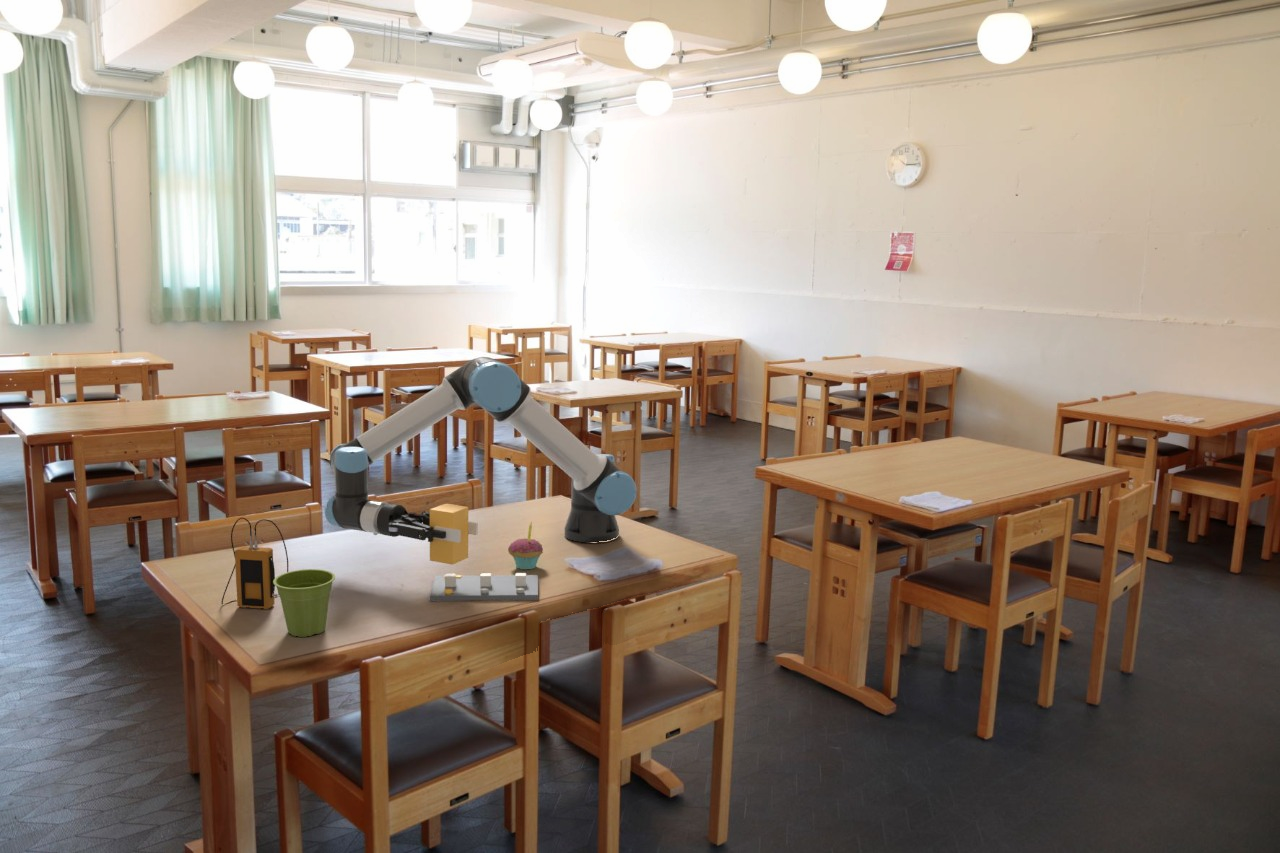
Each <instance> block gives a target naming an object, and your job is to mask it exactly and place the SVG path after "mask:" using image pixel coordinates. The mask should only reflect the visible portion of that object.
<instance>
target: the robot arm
mask: <svg viewBox="0 0 1280 853" xmlns="http://www.w3.org/2000/svg"><path fill="white" fill-rule="evenodd" d="M531 392H532V391H531V387H530V386H529V385H527V383H526V382H524V380H522V379H521V377H519V375H518V374H517V372H516V371H515V369H514V368H512V367H511V366H510V365H508V364H507V363H504V362H502V361H499V360H496V359H494V358H491V357H488V356H487V357H486V356H480V357H475V358H473V359H471V360H468V361H467V362H466V363H464V364H463V365H461V366H460V367H458V368H457V369H455V370H453V372H450V373H449V374H448V375H446V376H445V377H443V378H442V382H441V384H439V385H438V386H436V387H435V388H433V389H432V390H430V391H428V392H426V393H424V395H422V396H420V397H419V398H418V399H416V400H414V401H412V402H410V403H409V404H408V405H406V406H404V407H403V408H401V409H400V410H398V411H396V412H395V413H394V414H392V415H391V416H388V417H387V418H386V419H384V420H382V421H381V422H379V423H378V424H376V425H375V426H373V427H371V428H370V429H368V430H367V431H365V432H363V433H361V434H360V435H359V436H357V437H356V438H353V439H352V440H350V441H349V442H347V443H341V444H338V445H336V446H334V448H333V449H332V450H331V452H330V456H329V464H330V468H331V470H332V471H333V475H334V480H335V481H334V486H335V495H333V496H331V497H330V498H329V499H328V500H327V502H326V507H325V509H324V516H325V519H326V520H327V522H328V524H330V525H332V526H334V527H338V528H342V529H345V530H354V531H359V532H365V533H372V534H373V535H374V536H377V535H383V536H388V537H394V538H396V537H399V536H400V537H405V538H409V539H413V540H414V539H415V540H420V541H426V539H427V542H428V543H430V542H433V537H434V539H440V540H446V541H452V542H458V543H459V542H460V534H461V530H457V529H451V528H445V527H439V526H435V527H434V529H433V527H431V526H430V511H425V510H423V511H421V513H416V512H408V511H407V510H406V508H405V506H403V505H401V504H396V503H390V502H389V503H388V502H385V501H380V500H379V501H377V500H372V499H371V500H370V499H369V487H368V486H369V466H370V465H372V464H373V463H375V462H376V461H378V460H380V459H381V458H383V457H384V456H386V455H387V454H389V453H391V452H392V451H394V450H395V449H396V448H399V447H400V446H402V445H403V444H404V443H405V444H406V442H408V441H410V440H411V439H413V438H414V437H416V436H417V435H419V434H421V433H422V432H425V430H427V429H428V428H430V427H432V426H434V425H435V424H437V423H438V422H440V421H441V420H443V419H444V418H446V417H447V416H449V415H451V414H453V413H454V412H455V411H457V410H462V411H465V410H466V409H468V408H469V407H471V406H473V405H476V404H477V405H478V406H479V407H480V408H482V409H483V410H484V411H485V412H486V413H487V414H489V415H490V416H491V417H492V418H493V419H494V420H496V421H497V422H498V423H509V425H511V427H513V428H514V430H516V431H518V432H519V433H520V434H521V435H522V436H523V437H525V439H526V440H528V441H529V442H530V443H532V445H533V446H535V447H536V448H537V449H538V450H539V451H540V452H541V453H542V454H544V455H545V456H546V457H547V458H548V459H549V460H551V461H552V462H553V463H554V464H555V465H556V466H557V467H558V468H560V469H561V470H562V471H563V472H564V473H565V474H566V475H568V476H569V477H570V478H571V483H570V484H571V486H570V487H571V492H570V494H571V495H570V496H571V497H570V498H571V499H570V501H571V502H570V504H571V505H570V507H571V508H570V511H569V514H568V517H567V519H566V523H565V526H564V534H563V535H565V536H564V538H565V539H567V538H568V539H567V540H569V539H570V540H569V541H571V540H574V541H573V542H575V541H580V542H579V543H581V542H599V541H607V540H611V539H613V538H616V537H617V536H618V535H619V536H620V527H619V525H618V521H617V520H618V519H617V517H616V516H618V515H622V514H624V513H626V512H627V511H628V510H630V508H631V507H632V506H633V504H634V503H635V500H636V497H637V493H638V492H637V484H636V482H635V480H634V479H633V478H632V476H631V475H630V474H629V473H627V472H625V471H623V470H622V469H621V468H619V467H618V466H617V465H616V461H615V456H614V455H613V454H607V453H594V452H593V451H592V450H591V449H590V448H589V447H588V446H587V445H586V444H585V443H583V442H582V441H581V440H580V439H579V438H578V437H576V435H574V434H573V433H572V432H571V431H570V430H569V429H568V428H567V427H565V426H564V425H563V424H562V423H561V422H560V421H559V420H558V419H557V418H555V417H554V416H553V415H552V414H551V413H550V412H549V410H546V408H544V406H542V404H540V403H539V402H538V401H537V400H536V399H535V398H533V397H532V393H531ZM478 526H479V523H478V522H475V521H474V522H473V521H469V520H468V535H471V536H472V535H473V536H478V528H479V527H478Z"/></svg>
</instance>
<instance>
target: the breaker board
mask: <svg viewBox="0 0 1280 853" xmlns="http://www.w3.org/2000/svg"><path fill="white" fill-rule="evenodd" d="M434 577H435V578H434V581H433V584H432V586H431V591H430V594H429V602H455V601H456V602H460V601H461V602H463V601H465V602H466V601H469V602H470V600H487V601H539V575H538V574H527V573H526V572H516V573H515V574H511V575H510V574H508V575H507V574H506V575H505V574H502V575H501V574H500V575H499V574H497V575H496V574H495V575H493V574H492V573H491V572H489V573H485V572H484V573H480V575H462V574H457V573H445V574H444V575H435V576H434Z"/></svg>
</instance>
